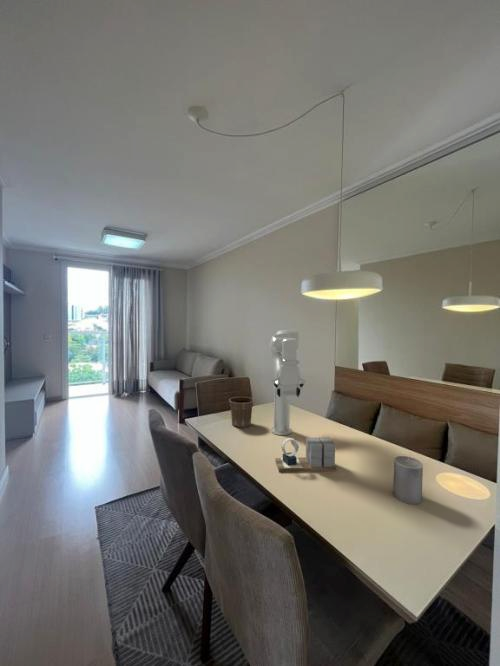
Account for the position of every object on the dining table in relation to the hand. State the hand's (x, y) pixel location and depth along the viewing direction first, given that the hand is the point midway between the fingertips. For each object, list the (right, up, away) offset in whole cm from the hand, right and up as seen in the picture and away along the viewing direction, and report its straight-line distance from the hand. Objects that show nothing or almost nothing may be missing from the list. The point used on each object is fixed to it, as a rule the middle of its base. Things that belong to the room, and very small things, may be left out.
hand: (288, 396), depth 146 cm
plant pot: (-25, -27, +38) cm, 53 cm away
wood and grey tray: (+6, -29, -15) cm, 33 cm away
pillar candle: (+41, -31, -37) cm, 63 cm away
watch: (-1, -27, -15) cm, 31 cm away
